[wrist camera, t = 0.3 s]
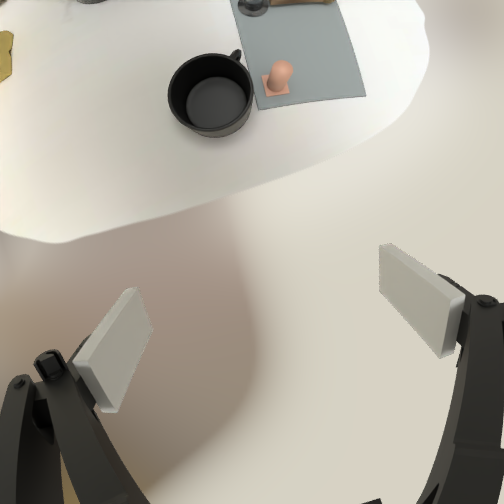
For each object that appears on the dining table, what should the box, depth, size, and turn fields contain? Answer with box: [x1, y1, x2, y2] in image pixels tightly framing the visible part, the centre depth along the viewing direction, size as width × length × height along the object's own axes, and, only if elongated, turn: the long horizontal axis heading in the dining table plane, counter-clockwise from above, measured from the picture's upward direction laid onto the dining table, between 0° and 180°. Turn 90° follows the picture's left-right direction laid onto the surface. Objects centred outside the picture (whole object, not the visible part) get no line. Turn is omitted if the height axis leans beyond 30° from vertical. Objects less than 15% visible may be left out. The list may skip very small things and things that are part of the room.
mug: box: [168, 49, 254, 138], centre depth 32 cm, size 9×12×9 cm
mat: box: [230, 0, 366, 110], centre depth 34 cm, size 22×16×1 cm
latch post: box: [261, 60, 293, 97], centre depth 32 cm, size 3×3×8 cm
